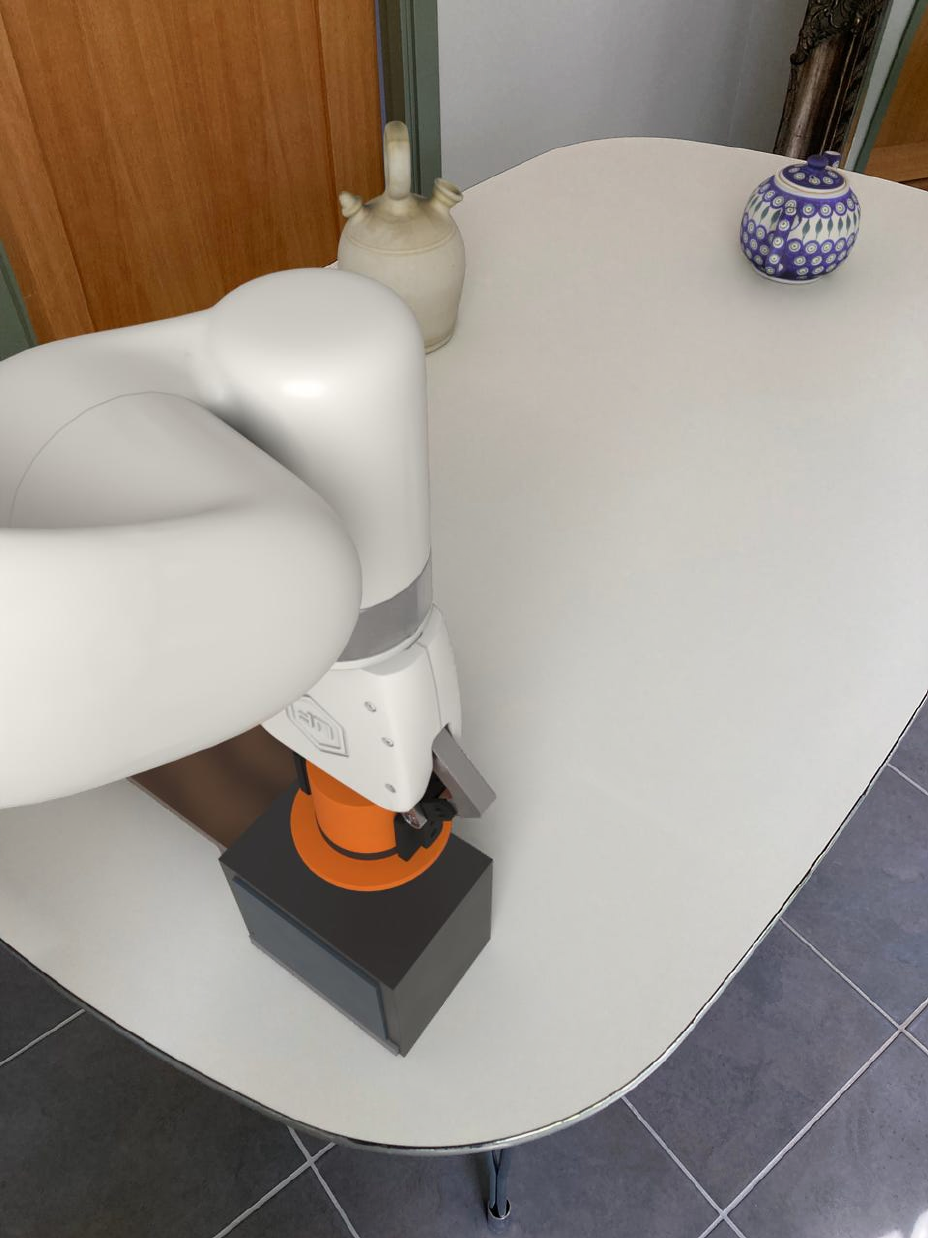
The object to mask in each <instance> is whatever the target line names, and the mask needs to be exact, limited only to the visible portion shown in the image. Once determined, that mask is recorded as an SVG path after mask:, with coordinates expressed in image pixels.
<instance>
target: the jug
mask: <svg viewBox="0 0 928 1238" xmlns="http://www.w3.org/2000/svg"><path fill="white" fill-rule="evenodd" d="M409 136H410V135H409V130H408V126H407V125H406V124H405V123H404V122H403V121H400V120H392V121H389V122H386V124H385V126H384V130H383V163H384V180H385V189H384V191H383V193H382V194H381V195H378V196H376V197H374V198H372V199H370V200H369V201H367V202H366V203H364V199H363V198H362V196H360V195H354V194H353V193H351V192H349V191H347V190H343V191H341V192H340V193H339V195H338V200H339V203H340V205H341V207H342V209H341V213H342V216H343V217H345V218H348V219H347V221H346V223H345V225H344V227H343V230H342V232H341V234H340V238H339V241H338V248H337V269H341V270H347V271H351V272H356V273H360V274H363V275H365V276H368V277H371V278H373V279H375V280H377V281H379V282H381V283H383V284H385V285H386V286H388V287H390V288H392V289H393V290H394V291H395V292H397V293H398V294H399V295H400V296H401V297H402V298H403V299H404V300H405V301H406V303H407V304H408V305H409V307H410V308H411V309H412V310H413V312H414V314H415V316H416V318H417V320H418V323H419V325H420V327H421V330H422V334H423V338H424V348H425V355H426V354H430V353H432V352H435V351H436V350H438V349H440V348H442V347H443V346H444V345H446V344H447V343H448V342H449V341H450V340H451V338H452V337H453V335H454V331H455V326H456V323H457V321H458V320H457V319H458V313H459V307H460V301H461V297H462V293H463V287H464V282H465V276H466V267H467V263H466V261H467V260H466V258H467V257H466V249H465V248H466V247H465V242H464V238H463V236H462V233H461V230H460V228H459V226H458V224H457V222H456V221H455V219H454V218H453V217H452V215H451V214H450V210H451V209H452V208H454V207H455V206H456V205H457V204H459V203H461V202H463V200H464V195H463V193H462V191H461V190H460V189H459V188H458V187H456V185H454V184H453V183H451V182H449V181H448V180H446V179H445V178H443V177H436V178H435V179H434V186H433V189H432V194H431V195H430V196H428V197H425V196H423V195H421V194H418V193H413V192H411V185H412V177H411V173H412V172H411V171H412V168H411V167H412V165H411V162H412V161H411V144H410V137H409Z"/></svg>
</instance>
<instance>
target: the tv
mask: <svg viewBox="0 0 928 1238" xmlns="http://www.w3.org/2000/svg"><path fill="white" fill-rule="evenodd" d="M299 788H300V784H299V780H298V777H297V778H296V779H295V780H294V781H293V782H292V783H291V784H290V785H289V786H288V787H287V788H286V789H285V790H284V791H283V792H282V794H281V795H280V796H279V797H278V798H277V799H276V800H275V801H274V802H273V803H272V804H271V805H270V806H269V807H268V808H267V809H266V810H265V811H264V812H263V813H262V814H261V815H260V816H259V817H258V818H257V819H256V820H255V821H254V822H253V823H252V824H251V825H250V826H249V827H248V829H247V830H246V831H245V832H244V833H243V834H242V835H241V836H240V837H239V838H238V839H237V840H236V841H235V842H234V843H233V844H232V845H231V846H230V847H229V848H228V849H227V850H226V851H225V852H224V853H223V854H222V855H221V854H220V856H219V857H218V858H217V861H218V863H219V865H220V868H221V869H222V872H223V874H224V877H225V879H226V881H227V884H228V887H229V889H230V891H231V893H232V896H233V898H234V901H235V903H236V905H237V908H238V910H239V913H240V915H241V917H242V919H243V922H244V924H245V927H246V930H247V931H248V934H249V935H248V938H249V940H250V943H251V944H252V945H253V946H255V947H256V948H257V949H258V950H259V951H261V952H262V953H263V954H264V955H266V956H267V957H269V958H270V959H271V961H272V960H273V962H275V963H276V964H278V965H279V966H280V967H281V968H283V970H285V971H286V972H288V973H289V974H290V975H291V976H292V977H294V978H296V979H297V980H298V981H299V982H300V983H302V984H303V985H304V986H306V988H308V989H310V990H311V992H313V993H314V994H316V995H317V996H318V997H319V998H321V999H322V1000H323V1001H325V1002H326V1003H327V1004H329V1005H330V1006H331V1007H332V1008H334V1009H335V1010H336V1011H337V1012H339V1013H340V1014H341V1015H343V1017H345V1018H346V1019H348V1020H349V1021H350V1022H351V1023H353V1024H354V1025H355V1026H357V1027H358V1028H359V1029H361V1030H362V1032H364V1033H365V1034H367V1035H368V1036H369V1037H371V1038H372V1039H373V1040H374V1041H375V1042H376V1043H378V1044H379V1045H381V1046H382V1047H383V1048H385V1049H386V1050H387V1051H388V1052H390V1053H391V1054H392V1055H393V1056H395V1057H398V1056H400V1057H402V1058H406V1056H407V1055H408V1054H409V1052H411V1049H412V1048H413V1047H414V1045H415V1044H416V1043H417V1041H418V1040H419V1038H420V1037H421V1035H422V1034H423V1033H424V1031H425V1030H426V1029H427V1027H428V1026H429V1024H430V1023H431V1022H432V1020H433V1019H434V1018H435V1016H436V1015H437V1014H438V1012H439V1011H440V1009H442V1007H443V1005H444V1004H445V1002H446V1001H447V1000H448V999H449V997H450V995H452V993H453V992H454V990H455V989H456V987H457V986H458V984H459V983H460V982H461V980H462V979H463V978H464V976H465V975H466V973H467V972H468V970H469V969H470V968H471V967H472V965H473V964H474V962H475V961H476V960H477V958H478V957H479V956H480V955H481V953H482V951H483V950H484V948H485V947H486V946H487V944H488V943H489V942H490V940H491V937H492V936H491V935H492V933H491V931H492V907H493V906H492V904H493V903H492V902H493V879H494V877H493V876H494V858H492V857H490V856H489V855H488V854H486V853H484V852H483V851H481V850H480V849H478V848H476V847H475V846H473V845H472V844H470V843H469V842H467V841H466V840H464V839H462V838H461V837H459V836H458V835H456V834H455V833H454V832H452V831H450V835H449V838H448V841H447V843H446V845H445V847H444V849H443V851H442V852H441V853H440V855H439V856H438V858H437V859H436V860H435V861H434V862H433V863H432V865H431V866H430V867H429V868H427V869H426V870H425V871H424V872H423V873H421V874H420V875H418V876H417V877H415V878H414V879H412V880H410V881H408V882H406V883H404V884H402V885H399V886H396V887H393V888H389V889H384V890H377V891H357V890H350V889H346V888H342V887H339V886H336V885H334V884H332V883H329V882H327V881H326V880H324V879H322V878H321V877H319V876H318V875H317V874H315V873H314V872H313V871H312V870H311V869H310V868H309V867H308V866H307V865H306V864H305V863H304V861H303V860H302V858H301V857H300V855H299V853H298V851H297V849H296V847H295V844H294V840H293V837H292V832H291V811H292V805H293V802H294V799H295V796H296V794H297V792H298V790H299Z"/></svg>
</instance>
